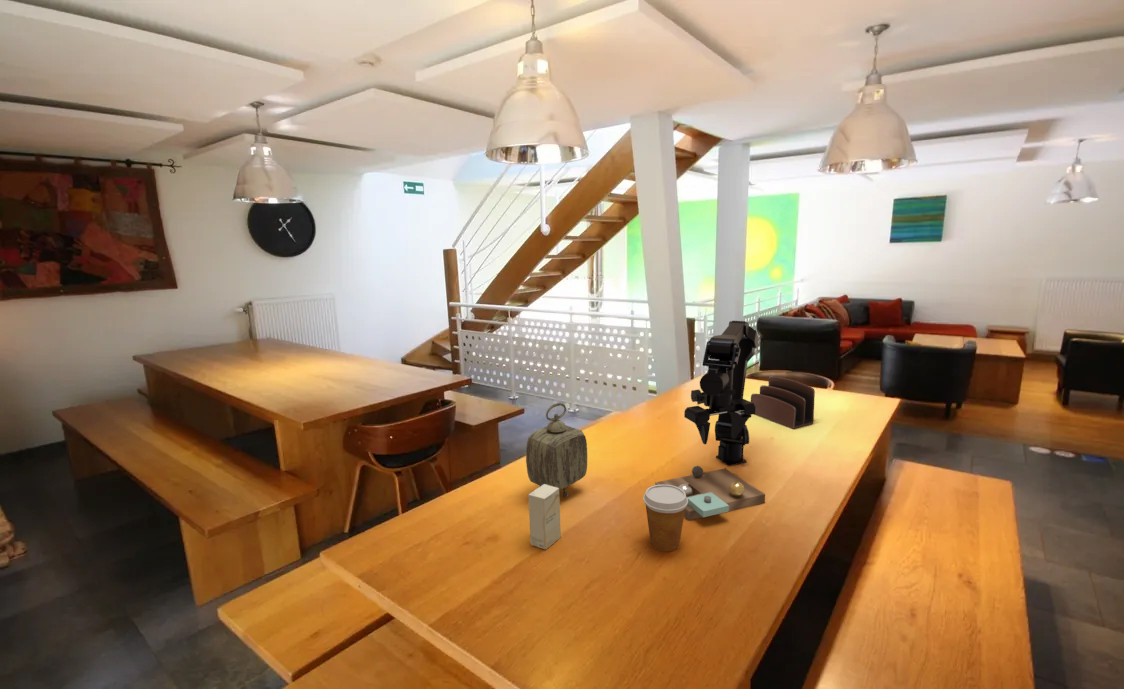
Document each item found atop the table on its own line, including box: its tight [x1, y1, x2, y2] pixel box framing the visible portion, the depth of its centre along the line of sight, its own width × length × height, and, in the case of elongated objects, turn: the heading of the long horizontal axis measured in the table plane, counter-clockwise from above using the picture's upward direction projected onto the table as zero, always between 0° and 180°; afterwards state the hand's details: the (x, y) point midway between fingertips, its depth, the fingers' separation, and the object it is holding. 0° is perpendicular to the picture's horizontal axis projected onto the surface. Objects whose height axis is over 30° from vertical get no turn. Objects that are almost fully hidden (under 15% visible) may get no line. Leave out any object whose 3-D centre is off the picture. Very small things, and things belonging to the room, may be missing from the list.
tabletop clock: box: [525, 402, 588, 498], centre depth 137 cm, size 14×9×25 cm, turn 134°
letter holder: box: [750, 375, 816, 430], centre depth 188 cm, size 10×20×14 cm, turn 27°
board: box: [654, 467, 766, 522], centre depth 136 cm, size 22×16×2 cm
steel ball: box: [678, 484, 693, 497], centre depth 134 cm, size 4×4×4 cm
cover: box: [687, 492, 730, 518], centre depth 126 cm, size 7×7×2 cm
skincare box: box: [527, 484, 562, 550], centre depth 117 cm, size 6×4×12 cm
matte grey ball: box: [691, 465, 704, 477], centre depth 141 cm, size 3×3×3 cm
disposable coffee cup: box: [642, 484, 688, 553], centre depth 115 cm, size 10×10×12 cm
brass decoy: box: [729, 482, 745, 497], centre depth 131 cm, size 4×4×4 cm
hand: (719, 441), depth 141 cm, fingers open, 9 cm apart
